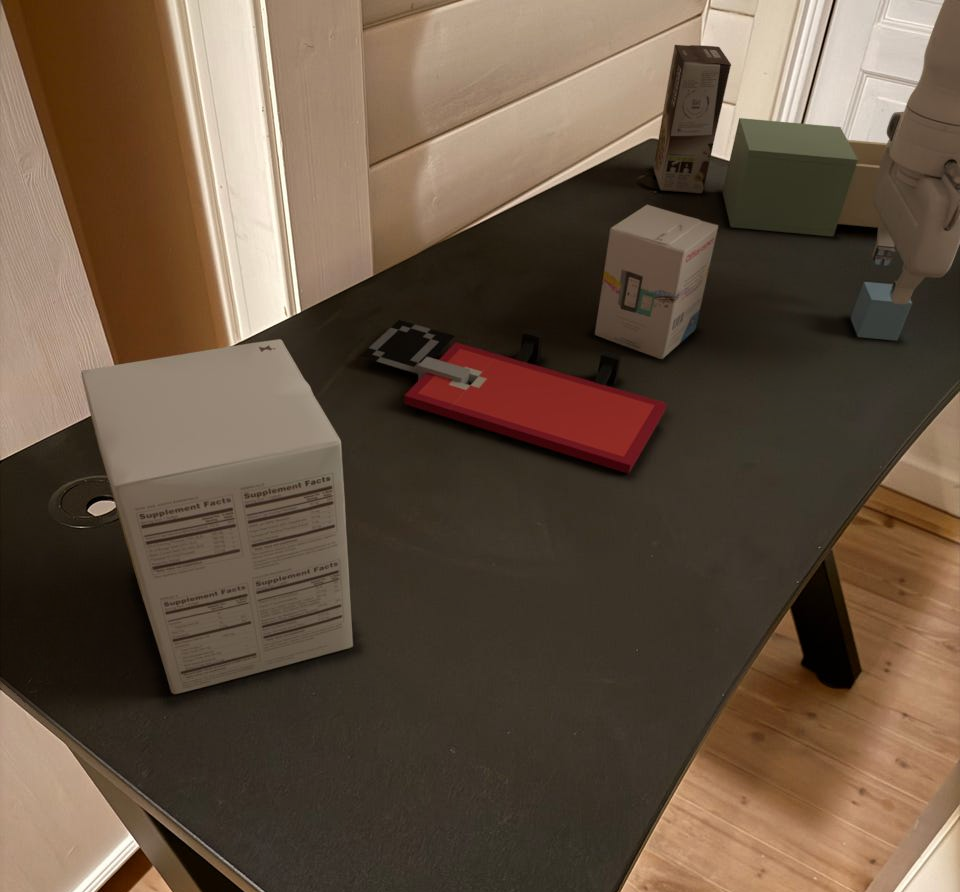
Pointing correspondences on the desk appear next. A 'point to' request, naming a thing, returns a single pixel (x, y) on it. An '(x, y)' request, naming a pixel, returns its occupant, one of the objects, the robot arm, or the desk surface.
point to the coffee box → (690, 117)
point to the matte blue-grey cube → (878, 313)
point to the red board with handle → (523, 395)
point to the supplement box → (227, 508)
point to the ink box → (654, 280)
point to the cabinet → (788, 177)
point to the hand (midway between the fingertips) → (888, 281)
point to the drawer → (863, 185)
